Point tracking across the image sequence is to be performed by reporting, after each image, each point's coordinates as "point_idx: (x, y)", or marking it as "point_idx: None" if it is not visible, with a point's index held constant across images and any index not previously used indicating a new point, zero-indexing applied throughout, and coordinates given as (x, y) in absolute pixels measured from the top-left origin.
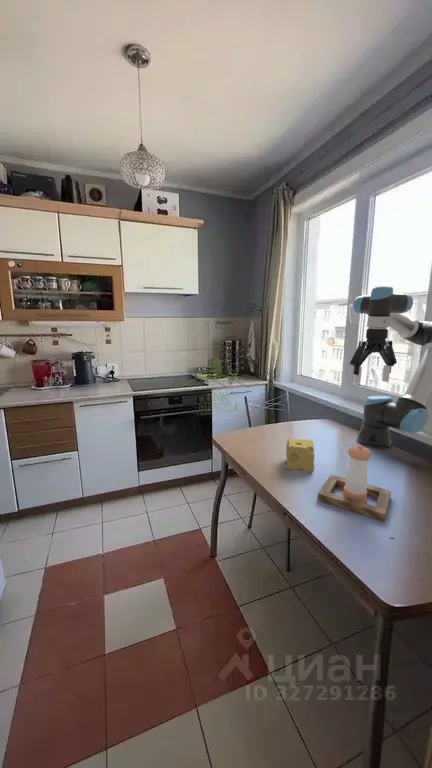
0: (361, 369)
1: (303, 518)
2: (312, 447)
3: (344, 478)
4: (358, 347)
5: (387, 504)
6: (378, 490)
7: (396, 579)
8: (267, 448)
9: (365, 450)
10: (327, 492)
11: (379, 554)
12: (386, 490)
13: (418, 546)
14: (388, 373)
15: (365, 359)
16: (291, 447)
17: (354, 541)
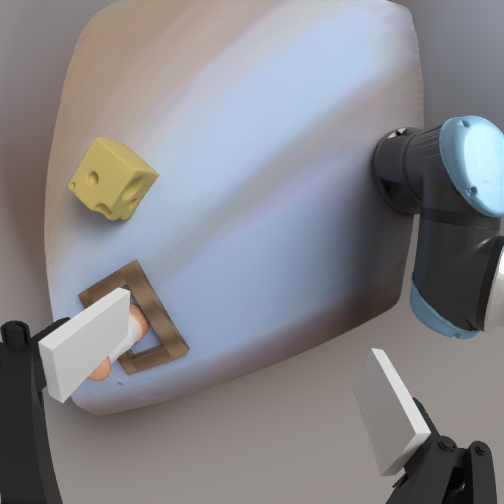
0: (71, 390)
1: (54, 307)
2: (108, 208)
3: (142, 288)
4: None
5: (148, 367)
6: (166, 343)
7: (89, 400)
8: (127, 81)
9: (89, 376)
10: (90, 301)
11: (93, 383)
12: (179, 350)
13: (136, 402)
14: (369, 429)
15: (51, 465)
16: (70, 189)
17: None
